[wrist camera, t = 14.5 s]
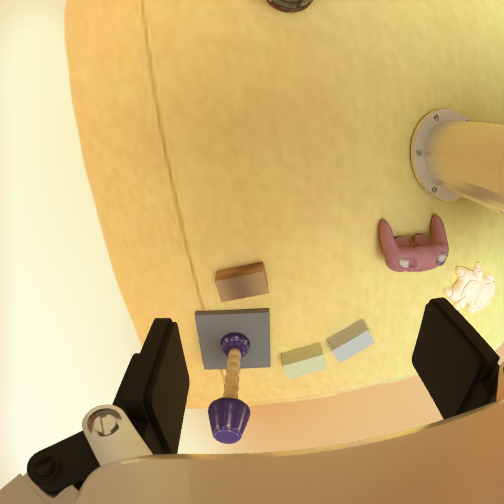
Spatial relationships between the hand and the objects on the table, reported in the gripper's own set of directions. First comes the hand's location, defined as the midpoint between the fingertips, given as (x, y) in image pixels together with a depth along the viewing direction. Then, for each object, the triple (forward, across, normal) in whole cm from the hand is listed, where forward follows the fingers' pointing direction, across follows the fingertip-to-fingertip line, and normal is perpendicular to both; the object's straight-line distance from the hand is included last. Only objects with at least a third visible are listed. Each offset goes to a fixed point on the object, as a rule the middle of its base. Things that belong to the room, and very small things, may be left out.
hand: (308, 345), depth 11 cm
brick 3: (+28, -12, +22) cm, 38 cm away
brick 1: (+28, +3, +11) cm, 31 cm away
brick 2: (+28, -5, +25) cm, 38 cm away
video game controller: (+29, -19, +7) cm, 35 cm away
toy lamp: (+28, +5, +21) cm, 35 cm away
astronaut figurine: (+29, -34, +16) cm, 47 cm away
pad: (+28, +5, +21) cm, 36 cm away
